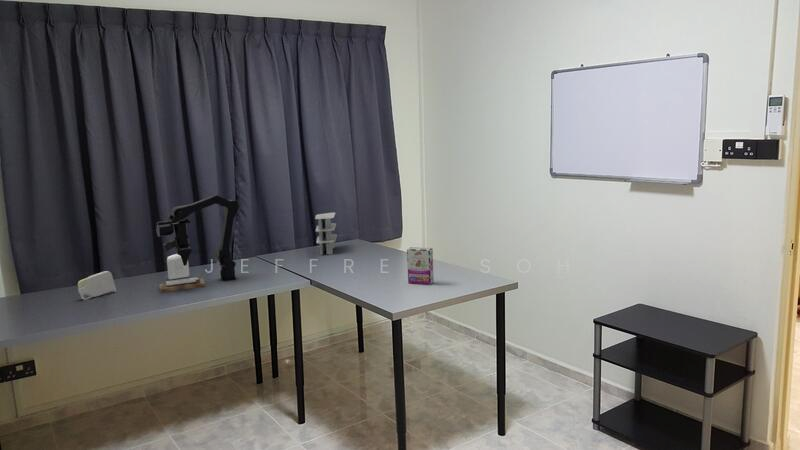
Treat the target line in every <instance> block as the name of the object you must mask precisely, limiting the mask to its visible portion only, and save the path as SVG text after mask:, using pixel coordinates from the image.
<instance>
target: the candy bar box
mask: <svg viewBox="0 0 800 450" xmlns="http://www.w3.org/2000/svg"><path fill="white" fill-rule="evenodd" d="M406 259H407V277H408V278H407V280H408V281H407V283H408V284H413V285H426V286H427V285H429V286H431V285H432V284H433V283H434V278H435V277H434V255H433V247H409V248H407V249H406Z"/></svg>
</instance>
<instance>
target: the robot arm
mask: <svg viewBox="0 0 800 450" xmlns="http://www.w3.org/2000/svg"><path fill="white" fill-rule="evenodd" d="M216 204H217V205H218V206H220V207H221V208H222V213H223V217H224V218H223V225H222V232H221V237H220V241H219V242H220V243H219V246H218V248H214V255H213V257H214V260H215V262H216V263H217V264H219V266H220V269H219V277H220V280H222V281H229V280H236V279H237V277H236V271H235V268H236V262H235V261H234V260H232V258H231V249H230V248H231V247H230V245H231V238H232V232H233V225H234V220H235V218H236V215H238V212H239V208H240V204H239V203H238V202H237V201H235V200H232V199H226V198H224V197H221V196H220V195H218V194H212V195H211V196H209V197H206V198H203V199H201V200H197V201H195V202H192V203H190V204H183V205H178V206H174V207H172V209H171V210H170V215H169V217H168V218H167V220H166V221H156V229H155V230H156V234H157V237H159V238H161V237H166V236H167V237H168V236H172V235H173V234H174V236H173V239H170V240H169V241H167V242H164V243H163V244H162V246H163V248H164V250H165V252H169V251H170V250H172V249H174V248H175V250H176V254H177V255H180V256H181V259H182V262H183V265H184V266H186V265H187V261H188V262H189V258H190V254H192V248H191V246H190V241H189V235H188V227H187V225H188V224H191V223H192V221H191V220H189V219H188V217H189V216H191V215H192V214H194V213H195V212H198V211H200V210H203V209H205V208H208V207H210V206H213V205H216Z"/></svg>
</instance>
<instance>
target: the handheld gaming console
mask: <svg viewBox="0 0 800 450" xmlns="http://www.w3.org/2000/svg"><path fill="white" fill-rule="evenodd" d="M77 291H78V294H79V295H80V298H81V300H82V299H83V301H86V300H89V299H91V298H98V297H99V296H102V295H104V294H107V293H110V292H113V293H117V289H116V284H115V281H114V277H113V274H112V272H110V271H108V270H105V271H101V272H99V273H95V274H91V275H89V276H88V277H85V278H83V279H80V280H79V281H78V282H77Z"/></svg>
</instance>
